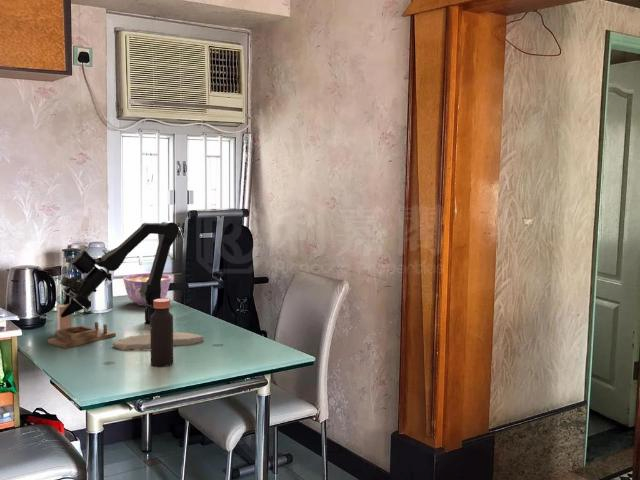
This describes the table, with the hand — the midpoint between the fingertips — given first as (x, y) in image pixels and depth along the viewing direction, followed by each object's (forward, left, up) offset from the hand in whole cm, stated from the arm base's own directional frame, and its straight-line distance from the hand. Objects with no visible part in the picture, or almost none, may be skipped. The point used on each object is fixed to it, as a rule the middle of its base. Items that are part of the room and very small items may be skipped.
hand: (60, 315), depth 238 cm
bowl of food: (-12, -53, -7) cm, 55 cm away
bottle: (-47, +28, -7) cm, 55 cm away
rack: (-11, +6, -7) cm, 14 cm away
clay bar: (-1, -1, -7) cm, 7 cm away
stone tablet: (-37, +4, -7) cm, 38 cm away
